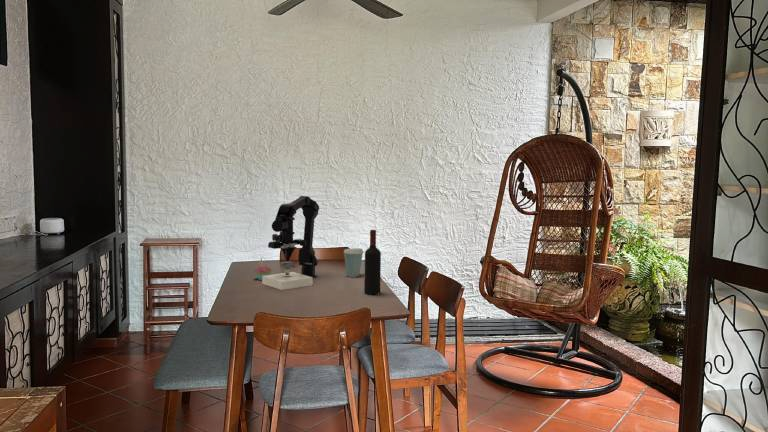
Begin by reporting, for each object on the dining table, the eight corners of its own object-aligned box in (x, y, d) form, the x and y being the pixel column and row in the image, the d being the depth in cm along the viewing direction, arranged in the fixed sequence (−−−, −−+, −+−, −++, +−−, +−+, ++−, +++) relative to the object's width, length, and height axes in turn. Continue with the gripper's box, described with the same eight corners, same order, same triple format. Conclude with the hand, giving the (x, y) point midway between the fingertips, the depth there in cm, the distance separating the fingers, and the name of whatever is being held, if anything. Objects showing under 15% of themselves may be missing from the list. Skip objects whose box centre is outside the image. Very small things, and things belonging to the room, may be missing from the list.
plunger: (289, 272, 318) (289, 261, 317) (297, 274, 313) (297, 263, 312) (277, 274, 313) (277, 262, 313) (285, 276, 308) (285, 264, 307)
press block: (292, 279, 326) (292, 271, 326) (312, 285, 313) (312, 277, 312) (262, 283, 314) (262, 275, 314) (281, 290, 301) (281, 281, 300)
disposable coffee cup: (339, 276, 335) (340, 249, 334) (348, 273, 345) (348, 246, 343) (358, 278, 331) (358, 250, 330) (366, 275, 341) (366, 247, 340)
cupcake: (267, 281, 321) (267, 258, 320) (251, 280, 322) (251, 257, 321) (273, 278, 329) (273, 255, 328) (258, 277, 331) (258, 254, 330)
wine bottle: (368, 295, 291) (369, 231, 288) (361, 292, 298) (362, 229, 295) (383, 294, 295) (384, 230, 292) (375, 291, 301) (376, 228, 298)
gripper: (294, 226, 323) (294, 257, 325) (262, 229, 311) (262, 260, 312) (306, 229, 315) (306, 259, 316) (274, 231, 302) (274, 263, 304)
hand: (287, 260), depth 312 cm, fingers closed
